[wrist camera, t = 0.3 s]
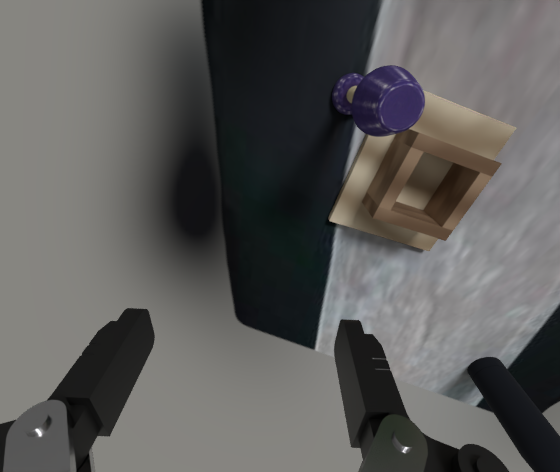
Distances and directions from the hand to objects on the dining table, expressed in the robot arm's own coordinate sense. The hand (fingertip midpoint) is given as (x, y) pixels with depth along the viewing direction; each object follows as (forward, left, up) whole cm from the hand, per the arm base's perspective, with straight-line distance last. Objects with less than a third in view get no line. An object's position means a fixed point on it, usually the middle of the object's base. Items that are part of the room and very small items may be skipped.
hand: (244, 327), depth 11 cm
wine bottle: (+26, +53, -27) cm, 65 cm away
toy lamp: (-10, +6, -27) cm, 30 cm away
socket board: (-4, +18, -27) cm, 33 cm away
